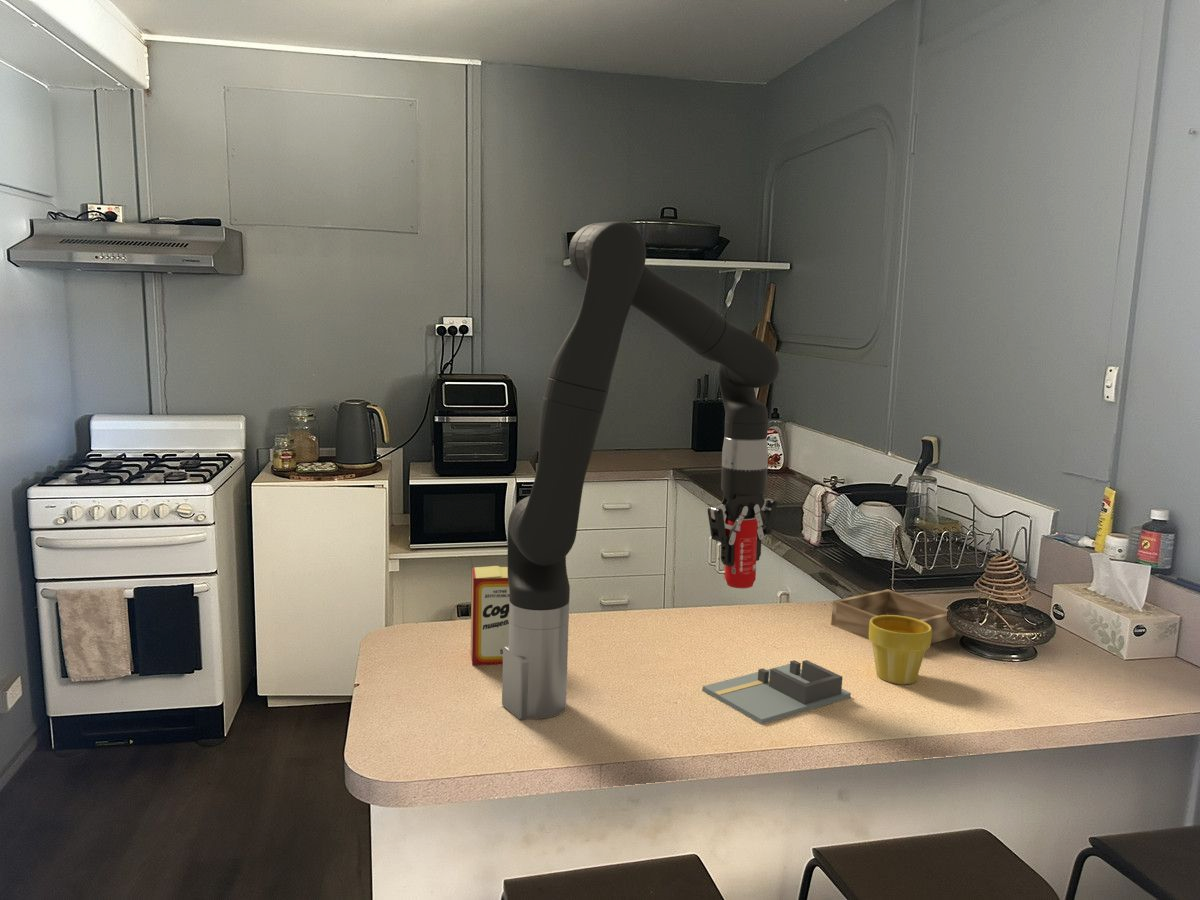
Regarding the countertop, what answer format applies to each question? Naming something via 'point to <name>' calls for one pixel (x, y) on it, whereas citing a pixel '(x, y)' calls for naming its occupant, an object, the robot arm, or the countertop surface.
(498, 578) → the baking soda box
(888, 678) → the plant pot
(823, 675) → the board
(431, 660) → the countertop surface
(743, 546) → the beverage can
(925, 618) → the wooden tray
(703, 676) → the countertop surface
